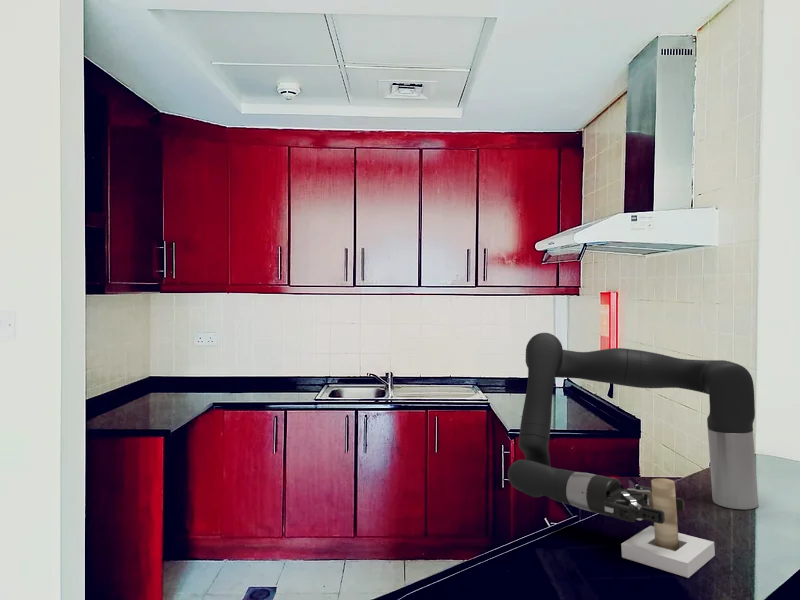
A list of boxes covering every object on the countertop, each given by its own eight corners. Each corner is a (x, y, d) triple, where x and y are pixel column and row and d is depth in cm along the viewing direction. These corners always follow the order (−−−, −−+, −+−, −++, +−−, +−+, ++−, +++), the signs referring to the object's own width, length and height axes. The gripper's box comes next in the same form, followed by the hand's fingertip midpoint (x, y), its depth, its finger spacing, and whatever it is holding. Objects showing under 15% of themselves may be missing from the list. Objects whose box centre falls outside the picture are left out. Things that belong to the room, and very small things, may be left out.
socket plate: (651, 538, 112) (650, 525, 112) (714, 555, 103) (714, 541, 103) (622, 557, 104) (621, 543, 104) (688, 577, 95) (687, 563, 95)
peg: (661, 549, 106) (657, 477, 107) (683, 556, 103) (678, 481, 104) (652, 556, 104) (647, 481, 104) (674, 563, 101) (669, 486, 101)
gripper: (574, 483, 110) (655, 501, 98) (610, 467, 120) (688, 482, 107) (576, 520, 110) (658, 543, 98) (612, 502, 119) (691, 520, 107)
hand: (674, 511), depth 103 cm, fingers open, 8 cm apart
